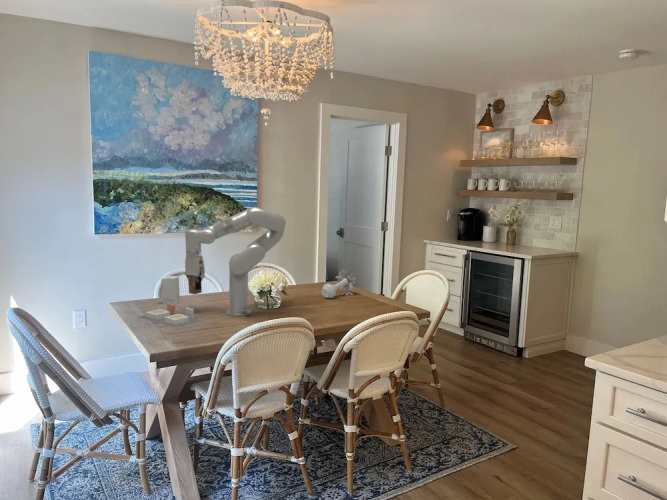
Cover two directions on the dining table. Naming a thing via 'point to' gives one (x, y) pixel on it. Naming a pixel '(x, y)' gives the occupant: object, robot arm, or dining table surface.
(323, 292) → the flower vase
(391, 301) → the dining table surface
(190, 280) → the walnut plug
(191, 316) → the pale grey tag
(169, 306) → the terracotta tag
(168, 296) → the skincare box
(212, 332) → the dining table surface
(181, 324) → the tag board
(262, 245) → the robot arm
